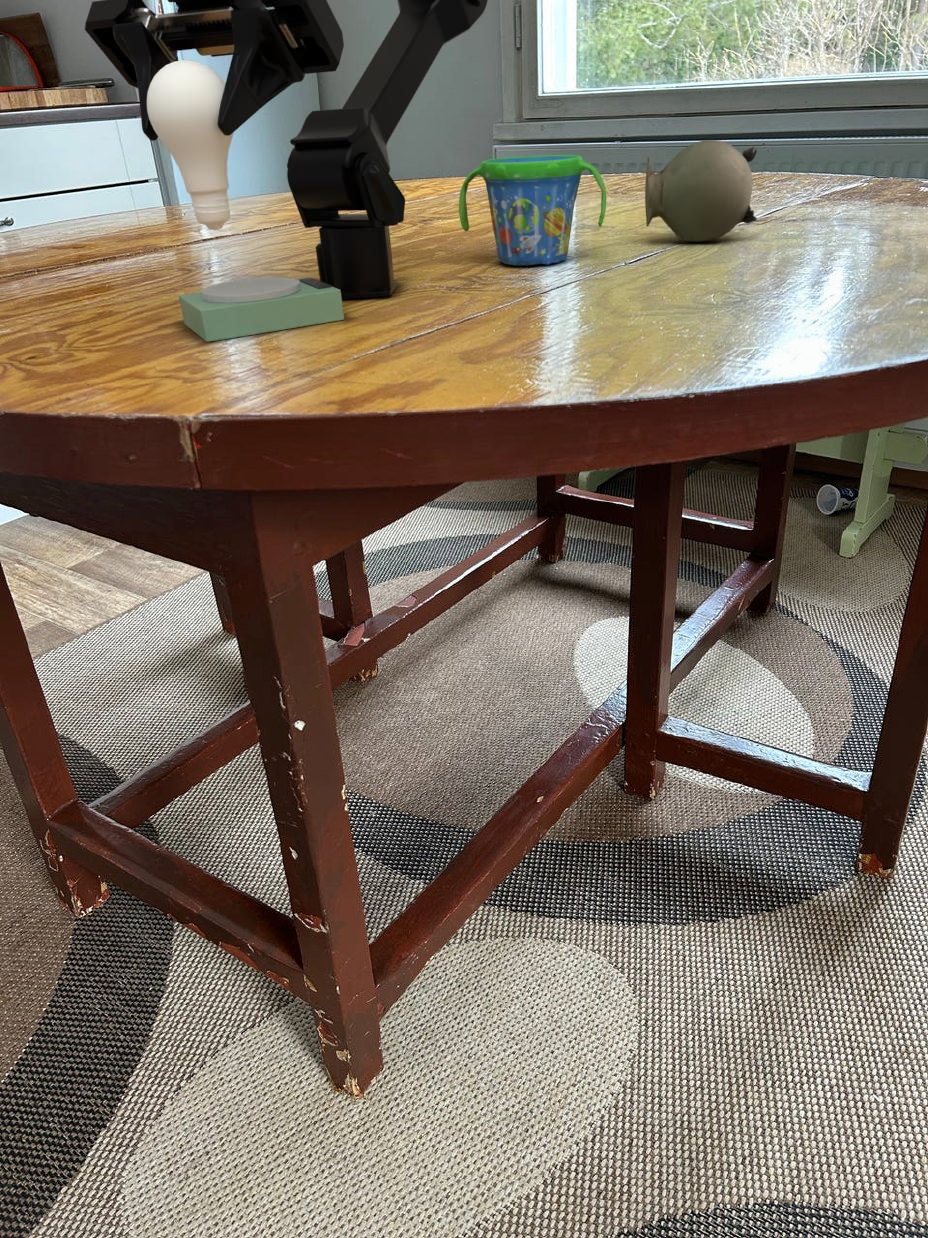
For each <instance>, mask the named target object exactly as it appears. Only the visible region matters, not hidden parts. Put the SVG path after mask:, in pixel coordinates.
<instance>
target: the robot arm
mask: <svg viewBox="0 0 928 1238" xmlns="http://www.w3.org/2000/svg"><path fill="white" fill-rule="evenodd" d="M488 1H489V0H397V5H398V10H399V13H398V16H397V17H396V18H395V20H394V22H393V24H392V25H391V27H390V29H389V30H388V31H387V34H386V35H385V37H384V39H383V40H382V42H381V44H380V45H379V47H378V48H377V50H376V52H375V53H374V55H373V57H372V59H371V60H370V61H369V63H368V65H367V67H365V68H366V69H365V70H364V72H363V73H362V75H361V77H360V78H359V80H358V82H357V83H356V85H355V86H354V88H353V90H352V91H351V93H350V95H349V96H348V97H347V99H346V102H345V103H344V104H343V107H342V108H334V109H333V108H332V109H321V110H320V109H319V110H312V111H311V112H309V114H308V115H306V118H305V120H304V122H303V124H302V127H301V128H300V131H299V132H298V133H297V134H296V136H295V137H293V138H291V139H290V140H289V143H290V144H291V145H292V146H294V147H293V148H292V149H291V151H290V153H289V156H288V158H287V163H286V168H287V170H286V171H287V172H286V177H287V184H288V187H289V189H290V192H291V194H292V197H293V200H294V203H295V205H296V208H297V211H298V213H299V216H300V219H301V221H302V222H301V223H302V224H303V227H304V228H306V229H311V228H318V232H319V241H320V242H319V243H317V245H316V246H315V252H316V253H315V254H316V261H317V270H318V276H319V281H321V282H324V283H326V284H329V285H331V286H332V287H334V288H337V289H339V290H341V298H342V300H343V299H359V298H360V299H361V298H378V297H379V298H380V297H389V296H392V294H393V293H394V291H395V290H396V288H397V286H398V285H399V284H398V279H395V275H394V265H393V254H392V253H393V252H392V244H391V243H392V242H391V234H390V227H392V226H398V225H399V224H401V223H403V222H404V220H405V209H406V198H405V196H404V194H403V192H402V191H401V190H400V188H399V186H398V185H397V184H396V182H395V181H394V179H393V178H392V176H391V174H390V171H391V166H390V159H389V154H388V148H387V145H388V143H389V141H390V139H391V138H392V135H393V133H394V132H395V130H396V128H397V127H398V125H399V123H400V121H401V120H402V118H403V116H404V114H405V112H406V111H407V109H408V107H409V106H410V104H411V102H412V100H413V98H414V96H415V95H416V94H417V92H418V90H419V88H420V86H421V84H422V83H423V81H424V79H425V78H426V76H427V74H428V73H429V71H430V69H431V67H432V65H433V64H434V63H435V60H436V59H437V56H438V55H439V53H440V51H441V50H442V48H443V46H445V45H446V44H447V43H448V42H450V41H452V40H454V39H456V38H457V37H459V36H461V35H463V34H464V33H466V32H467V31H469V30H471V28H472V27H473V26H474V25H475V24H476V23H477V21H478V20H479V19H480V18H481V17H482V16H483V15H484V13H485V9H486V8H487V6H488V5H487V4H488ZM167 2H168V3H174V4H175V5H176V7H177V11H176V12H170V13H169V12H168V13H160V14H158V13H155V12H154V11H153V10H151V9H150V8H149V7H148V6H147V5H146V3H145V2H144V0H94V1H91V4H90V7H89V10H88V14H87V16H86V20H85V24H84V31H85V32H86V33H87V34H88V36H89V37H90V38H91V39H92V41H93V42H94V43H95V44H96V46H97V47H98V48H99V50H100V51H101V52H102V53H103V54H104V55H105V57H106V58H107V59H108V60H109V62H110V63H111V64H112V65H113V66H114V68H115V69H116V70H117V71H118V72H119V74H120V75H121V76H122V78H123V79H124V80H125V81H126V82H127V84H128V85H129V86H132V87H133V88H135V89H137V91H138V101H139V102H138V103H139V111H140V118H141V119H140V122H141V129H142V132H143V134H144V135H145V136H146V137H147V139H148V140H149V141H150V142H153V141H154V142H155V141H157V139H158V138H159V137H158V135H157V134H156V132H155V131H154V129H153V127H152V124H151V122H150V120H149V116H148V112H147V93H148V89H149V86H150V83H151V82H152V80H153V78H154V76H155V75H156V74H157V73H158V72H159V70H161V69H162V68H163V67H164V66H166V65H168V64H170V63H172V62H175V61H180V59H179V56H178V55H179V54H178V53H179V51H189V50H195V51H196V52H197V54H198V55H200V56H202V57H206V56H211V57H212V58H215V57H225V56H232V57H231V61H230V64H229V69H228V71H227V72H228V73H227V76H226V80H225V87H224V91H223V95H222V99H221V103H220V109H219V116H218V127H219V129H220V130H221V132H222V133H223V134H224V135H225V136H229V135H231V134H232V133H233V132H234V133H235V132H236V131H237V130H238V129H239V128H240V127H241V126H243V125H244V124H245V123H246V122H247V121H249V120H250V119H251V118H252V117H253V116H254V115H255V114H256V113H257V112H259V110H261V109H263V107H265V105H267V104H268V103H269V102H270V101H272V100H273V99H275V98H276V97H277V96H279V95H280V94H281V93H282V92H283V91H285V90H287V89H288V88H289V87H290V86H292V85H293V84H295V83H302V81H303V80H304V79H305V76H306V75H308V74H309V75H310V74H320V73H330V72H337V69H338V67H339V65H340V62H341V59H342V55H343V52H344V47H345V43H344V34H343V33H344V32H343V31H342V29H341V26H340V25H339V23H338V21H337V18H336V17H335V14H334V12H333V11H332V8H331V6H330V4H329V3H328V1H327V0H167ZM270 8H271V9H270ZM234 133H233V134H234ZM345 211H347V212H349V211H350V212H351V211H353V212H355V211H358V212H359V211H365V212H366V213H339V212H345Z"/></svg>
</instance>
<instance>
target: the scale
mask: <svg viewBox="0 0 928 1238" xmlns="http://www.w3.org/2000/svg"><path fill="white" fill-rule="evenodd" d="M178 301H179V306H180V311H181V314H182V319H183V324H184V325H185V326H186V327H187V328H189V329H190V330H191V331H192V332H194V333H195V334H196V335H197V336H198V337H200V338H201V339H203V340H204V341H205V342H206V343H211V342H217V341H222V340H223V341H224V340H228V339H229V340H230V339H235V338H241V337H248V336H253V335H259V334H265V333H273V332H279V331H285V330H290V329H297V328H302V327H307V326H314V325H320V324H326V323H333V322H339V321H344V320H345V315H344V308H343V307H344V306H343V299H342V298H341V290H339V289H337V288H334V287H332V286H331V285H329V284H326V283H324V282H321V281H320V280H318V279H316V278H313V277H308V276H304V277H297V278H294V277H283V276H271V277H269V276H268V277H254V278H244V279H237V280H231V281H225V282H220V283H216V284H212V285H209V286H207V287H205V288H203V289H202V290H201V291H199V292H192V293H191V292H190V293H185V294H179V295H178Z"/></svg>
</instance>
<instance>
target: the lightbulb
mask: <svg viewBox="0 0 928 1238" xmlns="http://www.w3.org/2000/svg"><path fill="white" fill-rule="evenodd" d="M225 84H226V81H224V80H223V78H222V77H221V76H220V75H219V74H218V73H217V72H216V71H215V70H213V69H212V68H210V67H209V66H207V65H206V64H203V63H201V62H198V61H194V60H185V59H179V61H175V62H172V63H170V64H168V65H166V66H164V67H163V68H162V69H161V70H159V72H158V73H157V74H156V75H155V76H154V78H153V80H152V82H151V83H150V86H149V89H148V93H147V112H148V116H149V120H150V122H151V124H152V127H153V129H154V131H155V132H156V134H157V135H158V138H159V140H160V141H161V143H162V144H163V146H164V147H165V148H166V150H167V151H168V152H169V154H170V155H171V156H172V158H173V160H174V162H175V164H176V166H177V167H178V170H179V172H180V176H181V177H182V181H183V184H184V187H185V188H184V189H185V191H186V193H188V194H189V196H190V198H191V202H192V206H193V211H194V214H195V218H196V221H197V222H198V224H201V225H203V226H205V227H207V228H208V230H211V231H212V230H213V231H219V230H221V229H223V227H224V224H225V223H227V222H229V220H230V219H231V209H230V202H229V196H228V189H229V188H230V184H229V177H228V175H229V174H228V159H229V150H230V147H231V143H232V140H233V137H234V133H235V131H234V132H233V133H232V134H231V135H229V136H225V135H224V134H223V133H222V132H221V130H220V129H219V127H218V116H219V109H220V103H221V99H222V95H223V91H224V87H225Z"/></svg>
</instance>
